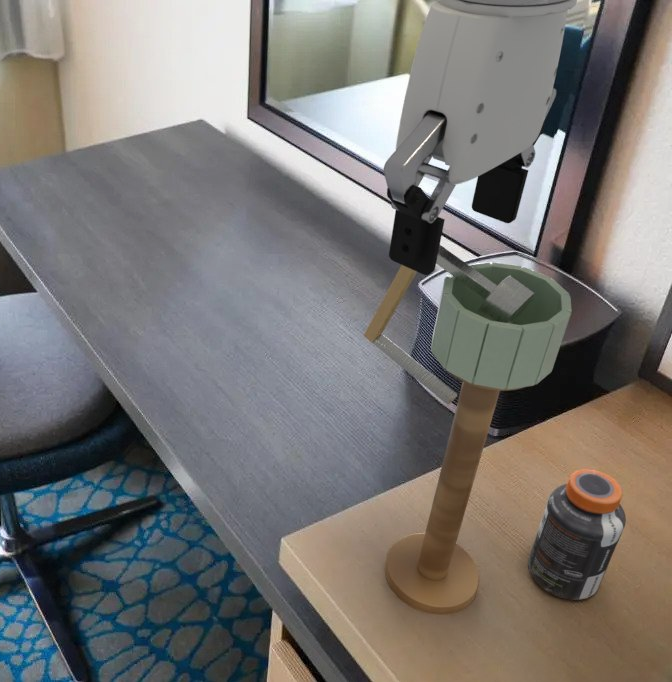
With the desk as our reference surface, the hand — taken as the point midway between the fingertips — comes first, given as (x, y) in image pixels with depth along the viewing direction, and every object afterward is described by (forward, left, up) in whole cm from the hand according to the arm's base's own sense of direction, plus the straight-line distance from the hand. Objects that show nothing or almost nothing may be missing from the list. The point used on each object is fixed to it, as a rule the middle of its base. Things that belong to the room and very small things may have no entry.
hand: (453, 239), depth 54 cm
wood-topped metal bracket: (-4, 0, -8) cm, 9 cm away
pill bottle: (-12, -9, -33) cm, 37 cm away
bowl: (-4, 0, -7) cm, 9 cm away
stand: (-4, 0, -33) cm, 34 cm away
